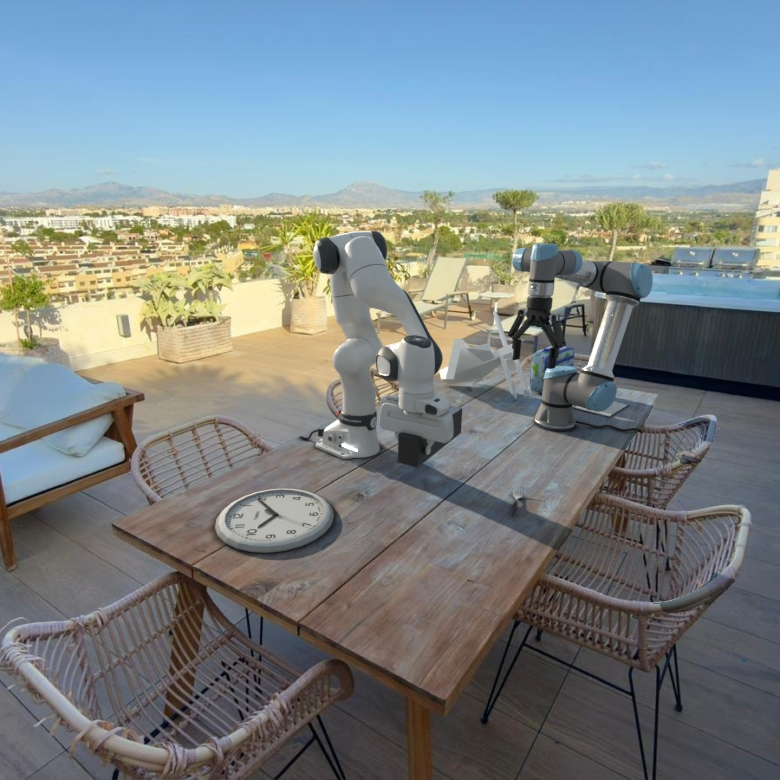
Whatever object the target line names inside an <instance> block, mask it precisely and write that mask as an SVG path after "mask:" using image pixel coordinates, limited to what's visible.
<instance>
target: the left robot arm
mask: <svg viewBox="0 0 780 780" xmlns="http://www.w3.org/2000/svg"><path fill="white" fill-rule="evenodd" d="M387 257H388V247H387V242H386V238H385V236H384V235H383V234H382V233H381V231H378V230H367V231H349V232H346V233H341V234H337V235H333V236H332V235H331V236H329V237H328V236H324V237H321V238H319V239H317V240H316V241H315V242H314V244H313V250H312V258H313V262H314V265H315V267H316V269H317V270H318V271H319V272H320V273H321V274H323V275H324V274H325V275H329V284H330V286H329V287H330V292H331V299H332V305H333V306H332V307H333V311H334V317H335V321H336V323H337V325H338V326H339V327H340V328H341V330H342V333H343V335H344V339H345V342H343V343H341V344H340V345H339V346H338V347H337V348H336V350H335V351H334V353H333V355H332V361H331V362H332V365H333V368H334V370H335V372H337V373H338V376H339V380H340V385H341V393H342V394H341V396H342V397H341V398H342V402H341V403H342V408H341V409H339V410H338V411H336V412H335V413H336V414H335V416H338V418H337V419H336V420H334V421H333V422H331V423H330V424H328V423H324V424H322V425H321V426H320V427H319V428H317V429H314V430H312V431H311V432H310V433H309V435H308V437H304V436H302V435H299V439H301V440H306V441H308V440H310V439H311V438H312V436H313V434H315V433H317V437H318V438H319V437H320V439H319V440H317V441H316V443H315V448H317V449H318V450H321V451H323V452H326V453H328V454H331V455H332V456H335V457H338V458H340V459H342V460H349V459H360V458H361V459H362V458H368V457H369V458H370V457H372V456H375V455H377V454H378V453H379V452H380V451H381V448H380V443H379V439H378V433H377V424H378V426H379V427H380V428H381V430H385V431H391V432H394V437H395V438H396V441H397V442H398V434H400V433H401V432H404V433H408V434H412V435H416V436H421V437H422V438H424V439H427V443H429V444H428V445H427V446H425V447H423V454H426V455H429V454H430V452H431V446H432V445H433V444H434V442H435V441H436V442H441V443H447V442H448V441H450V440H451V439H452V437H453V432H454V426H453V417H452V414H451V413H450V412H449V410H450V409H451V406H453V405H452V402H451V401H450V400H448V399H446V398H445V397H442V396H441V395H439V394H437V393H436V392H435V387H434V377H435V376H436V375H437V373H438V372H439V370H441V368H442V367H441V366H442V364H443V359H444V358H443V356H444V355H443V352H442V349H441V348H440V346H439V344H438V343H437V342H436V341H435V339H434V338H433V337H432V335H431V333H430V332H429V330H428V327H427V325H426V324H425V323H424V320H423V318H422V316H421V315H420V313H419V311H418V309H417V307H416V304H415V303H414V301H413V300H412V298H411V296H410V295H409V293H408V292H407V291H406V290H405V289H403V288H402V287H401V286H400V285H399V284H398V283H397V282H396V281H395V280H394V278H393V276H392V274H391V273H390V271H389V269H388V265H387V262H386V259H387ZM370 308H371V309H374V310H379V311H382V312H385V313H387V314H390V315H392V316H394V317H395V318H397V320H399V322H400V324H401V326H402V327H403V329H404V332H405V333H406V336H404V337H403V338H402V339H401V340H400V341H398V342H395V343H390V344H386V345H383V342H382V340H381V338H380V337H379V336H378V333H377V330H376V328H375V325H374V322H373V319H372V316H371V311H370ZM374 365H375V366H376V367H375V368H376V372H377V374H378V375H379V376H380V377H381V378H382V379H383V380H385V381H389V382H398V384H399V386H398V396H397V395H391V394H386V395H384V396H382V397H381V398H380V411H379V418H378V411H377V407H376V405H377V403H376V401H377V400H376V399H377V389H376V386H375V385H374V382H373V378H372V372H371V370H372V366H374ZM450 442H451V441H450Z"/></svg>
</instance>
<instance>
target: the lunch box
mask: <svg viewBox="0 0 780 780" xmlns="http://www.w3.org/2000/svg"><path fill="white" fill-rule="evenodd" d="M550 348H552V345H551V346H548V347H544V348H543V349H539V350H536V351H535V352H534V354H533V356H532V358H531V363H530V374H529V391H532V392H536V393H540V394H542V391H543V381H544V379H543V378H544V375H545V371H546V369H547V368H548V362H549V353H550ZM574 363H575V348H573V347H571V346H570V347H568V346H564V347H560V349H559V357H558V358H556V365H555V366H571V367H574Z"/></svg>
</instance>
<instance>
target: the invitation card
mask: <svg viewBox="0 0 780 780" xmlns="http://www.w3.org/2000/svg"><path fill="white" fill-rule="evenodd" d="M628 406H629V404H627V403H623V402H618V401H615V400H614V401H613V403H612V404H611V405H610V406H609V407H608V408H607V409H606V410H604V411H601V412H597V411H593V410H588V409H586V408H582V407H579V406H576V405H575V406H574V407H573V409H575V410H581V411H584V412H587V413H593V414H596V415H600V416H604V417H608V418H609V417H611V416H613V415H614V414H616V413H617V412H619V411H621V410H623V409H624V408H626V407H628Z"/></svg>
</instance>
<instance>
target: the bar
mask: <svg viewBox="0 0 780 780" xmlns="http://www.w3.org/2000/svg"><path fill="white" fill-rule="evenodd" d="M449 412H450V413H451V414H452V417H453V426H454V432H453V437H452V439H451V440H450V441H448V442H447V443H441V442H436V441H435V442H434V444H433V445H432V446H431V452H430V454H429V455H426V454H423V447H425V446H427V445H428V444H429V443H427V439H424V438H422V437H421V436H416V435H412V434H408V433H404V432H401V433H400V434H398V441H397V463H399V464H402V465H405V466H410V467H413V468H415V469H418V468H419V467H421V466H422V465H423V464H424V463H425V462H427V461H428V460H429V459H431V458H432V457H433V456H434V455H435V454H437V453H438V452H439V451H440V450H442V449H443V448H444V447H445V446H447V445H448V444H449V443H451V442H452V441H453V440H454V439H456V438H457V437H458V436H459V435H461V434H462V424H463V423H462V422H463V407H459V406H454V405H452V406H451V409H450V410H449Z"/></svg>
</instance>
